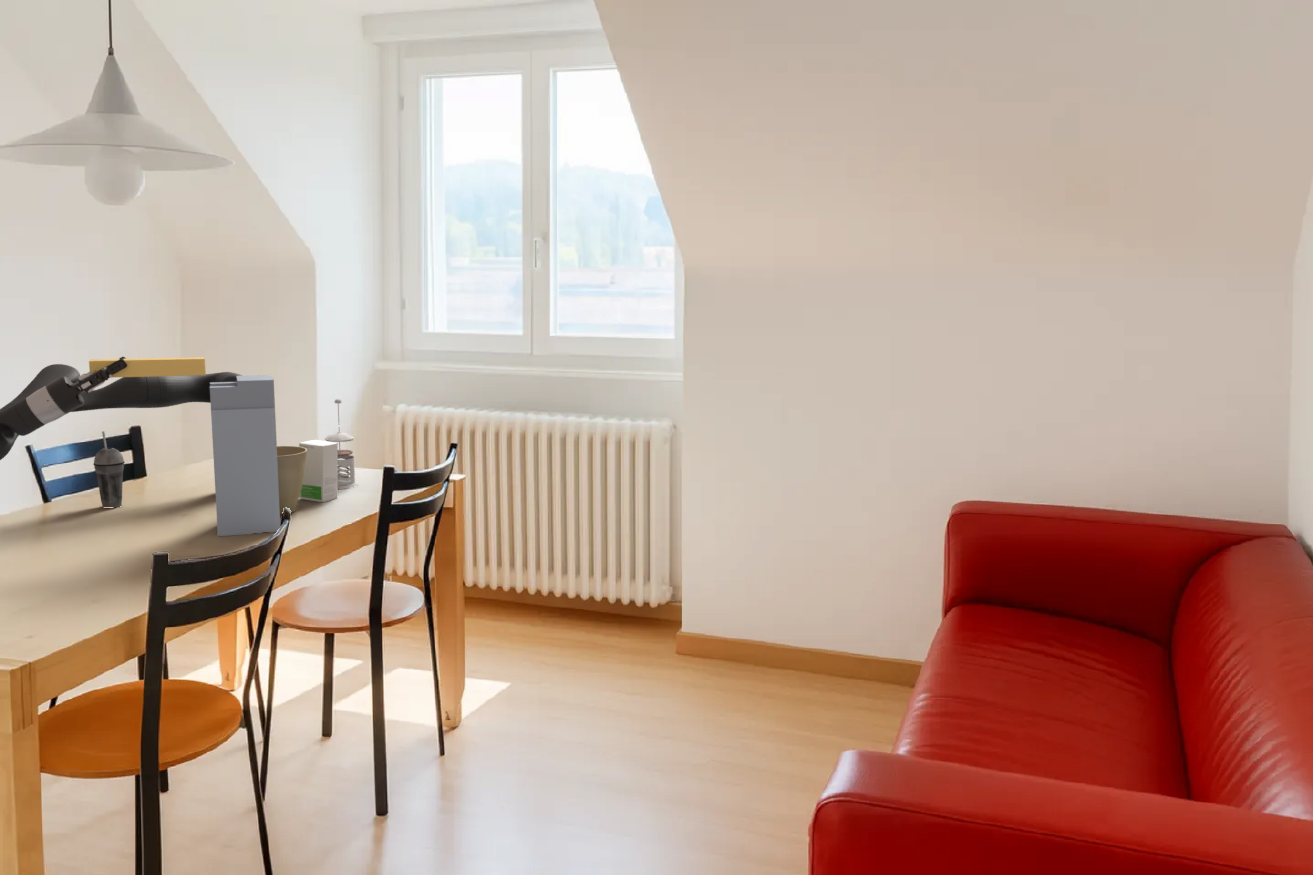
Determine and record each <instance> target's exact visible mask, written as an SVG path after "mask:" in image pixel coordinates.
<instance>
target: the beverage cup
mask: <svg viewBox="0 0 1313 875" xmlns="http://www.w3.org/2000/svg"><path fill="white" fill-rule="evenodd" d="M101 434H102V439H103V446H104V447H103V448H102V449H99V451H98V452H97V453H96V454H95V456H94V459H93V466H94V471H95V473H96V478H97V484H98V491H99V497H100V502H101V506H102V508H103V507H119V508H121V507H122V506H123V505H122V504H123V503H122V502H123V483H124V482H123V481H124V480H123V477H124V476H123V474H124V469H125V459H124V457H123V456H124V455H123V454H122V453H121V452H120V450H118V449H116V448H114V447H107V446H108V445H107V440H106V433H105V431H101ZM120 506H121V507H120Z"/></svg>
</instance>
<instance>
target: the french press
mask: <svg viewBox="0 0 1313 875" xmlns="http://www.w3.org/2000/svg"><path fill="white" fill-rule="evenodd" d="M334 404H337V416H338V424H340V407H339V406H340V404H342V400H341V399H340V398H336V399H334ZM340 430H341V429H340V428H338V431H337V432H333V433H331V434H329V435H327V436H326V437H324V441H328V442H334V443H338V445H339V449H338V459H337V490H345V489H344V488H347V489H352V488H351V487H353V488H355V487H354V486H356V487H358V486H359V483H358V482H357V481H356V478H355V475H356V474H355V456H354V455H352V454H353V453H354V452H353V450H350V449H341V443H342V442H343V443H346V442H352V441H354V439H355V437H354V436H352V435H350V434H348V433H346V432H341V431H340Z"/></svg>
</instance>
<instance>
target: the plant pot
mask: <svg viewBox="0 0 1313 875" xmlns="http://www.w3.org/2000/svg"><path fill="white" fill-rule="evenodd" d="M306 457H307V449H306V448H304V447H299V445H298V446H295V445H277V463H278V486H279V509H280V515H283V514H282V512H283V508H285V507H287V508H290V510H291V511H292V512H291V513H294V512H295V511H296V508H297V505H298V502H299V500H300V498H299V496H300V492H301V488H302V484H303V479H304V474H305V467H306Z"/></svg>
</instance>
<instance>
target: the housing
mask: <svg viewBox="0 0 1313 875" xmlns="http://www.w3.org/2000/svg"><path fill="white" fill-rule="evenodd" d="M275 398H276V397H275V380H274V378H273V375H272V374H268V375H267V374H265V375H264V374H263V375H260V374H259V375H243V376H237V382H213V383H210V401H211V403H210V413H211V414H210V417H211V432H212V434H211V435H212V436H211V437H212V452H213V453H212V454H213V468H214V470H213V473H214V474H213V476H214V491H215V509H216V510H215V511H216V524H217V526H216V528H217V529H216V530H217V537H227V536H228V537H229V536H240V535H241V536H242V535H254V534H253V533H257V534H263V533H262V532H270V533H277V532H276V531H277V530H278V529H279V528H280V529H281V514H280V509H279V486H278V463H277V446H278V445H277V425H276V424H277V423H276V422H277V421H276V420H277V418H276V403H275V402H276V400H275Z"/></svg>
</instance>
